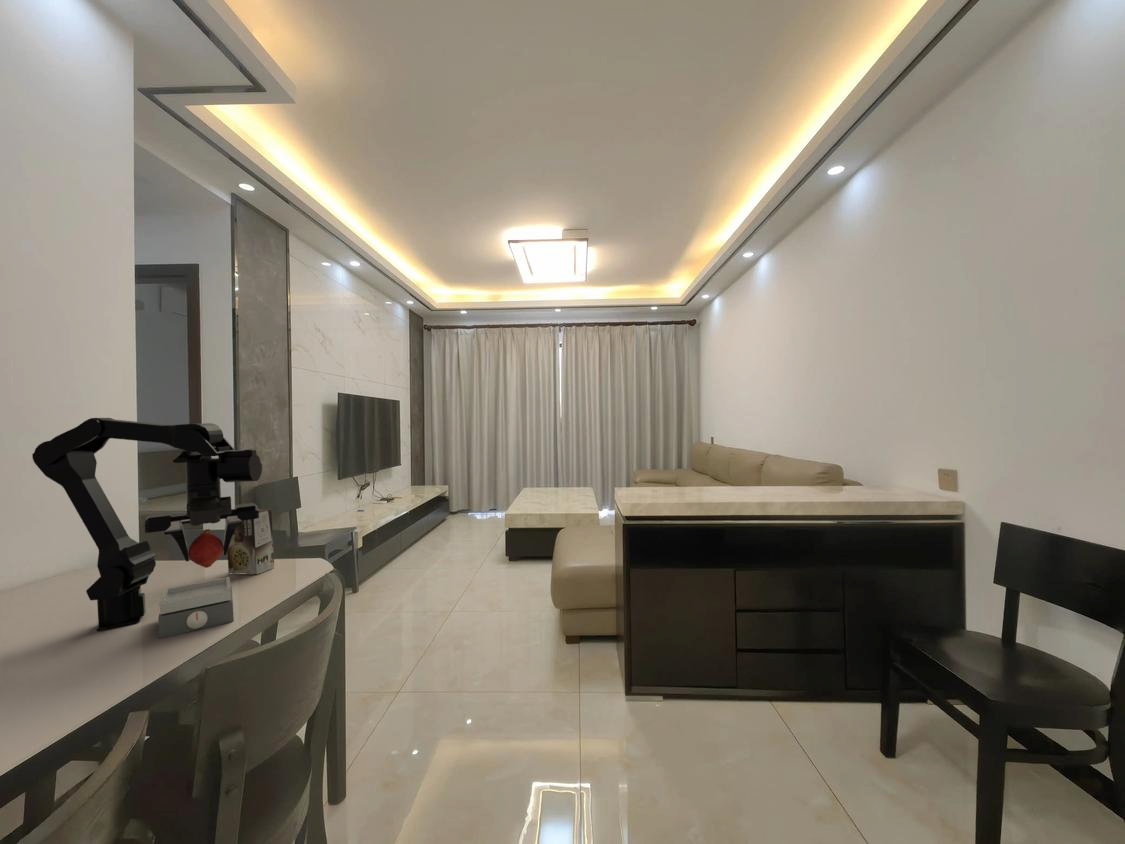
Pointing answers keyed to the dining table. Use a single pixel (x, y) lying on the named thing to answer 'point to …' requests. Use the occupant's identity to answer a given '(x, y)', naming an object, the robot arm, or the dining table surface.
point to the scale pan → (195, 595)
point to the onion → (206, 549)
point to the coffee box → (252, 545)
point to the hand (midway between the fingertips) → (206, 557)
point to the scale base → (195, 618)
